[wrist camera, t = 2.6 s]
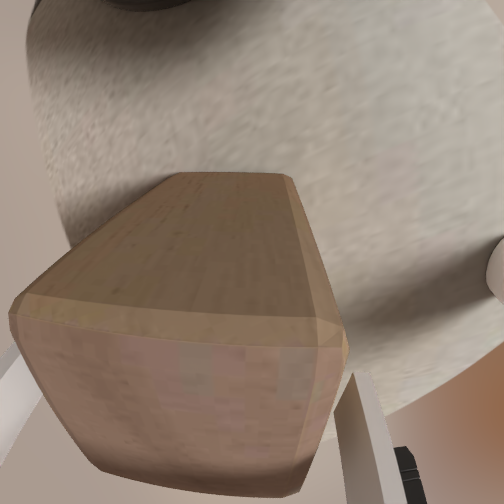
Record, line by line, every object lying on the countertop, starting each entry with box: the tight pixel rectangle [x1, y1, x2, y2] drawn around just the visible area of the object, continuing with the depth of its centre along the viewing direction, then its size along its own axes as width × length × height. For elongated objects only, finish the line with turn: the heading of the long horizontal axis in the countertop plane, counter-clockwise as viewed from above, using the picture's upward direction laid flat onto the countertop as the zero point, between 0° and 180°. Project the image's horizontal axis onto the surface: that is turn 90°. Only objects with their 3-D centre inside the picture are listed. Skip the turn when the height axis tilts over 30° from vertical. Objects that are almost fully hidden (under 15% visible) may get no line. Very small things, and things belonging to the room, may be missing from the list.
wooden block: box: [8, 172, 350, 498], centre depth 17 cm, size 10×10×20 cm
